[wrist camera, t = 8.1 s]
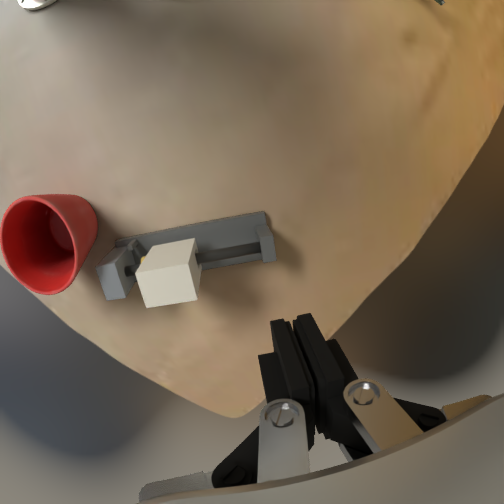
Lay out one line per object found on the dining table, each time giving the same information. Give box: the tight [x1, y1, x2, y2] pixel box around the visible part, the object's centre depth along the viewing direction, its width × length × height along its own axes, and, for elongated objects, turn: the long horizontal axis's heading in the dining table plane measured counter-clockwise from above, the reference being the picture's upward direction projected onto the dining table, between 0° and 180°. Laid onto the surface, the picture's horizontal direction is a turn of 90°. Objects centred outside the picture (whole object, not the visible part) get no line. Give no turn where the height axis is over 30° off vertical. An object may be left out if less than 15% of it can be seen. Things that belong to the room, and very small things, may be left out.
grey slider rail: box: [95, 211, 277, 301], centre depth 33 cm, size 19×6×7 cm, turn 99°
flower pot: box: [0, 194, 98, 295], centre depth 29 cm, size 11×11×10 cm
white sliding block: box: [135, 238, 202, 308], centre depth 30 cm, size 5×4×8 cm
